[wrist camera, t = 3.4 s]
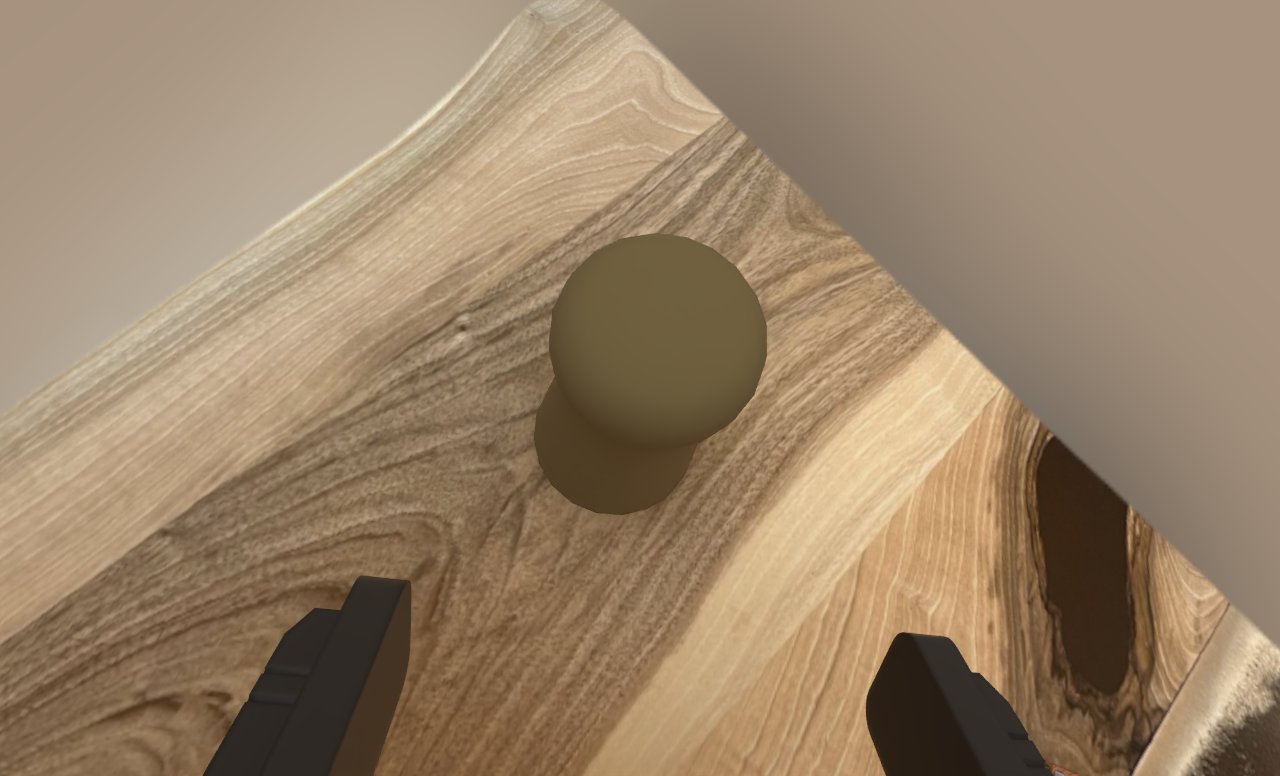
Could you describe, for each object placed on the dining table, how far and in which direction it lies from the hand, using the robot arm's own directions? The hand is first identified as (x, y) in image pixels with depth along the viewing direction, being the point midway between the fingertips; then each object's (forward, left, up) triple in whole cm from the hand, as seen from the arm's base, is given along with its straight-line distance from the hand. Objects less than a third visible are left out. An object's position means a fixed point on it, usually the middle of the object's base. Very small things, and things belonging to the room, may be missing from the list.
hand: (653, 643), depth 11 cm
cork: (0, +7, -12) cm, 14 cm away
